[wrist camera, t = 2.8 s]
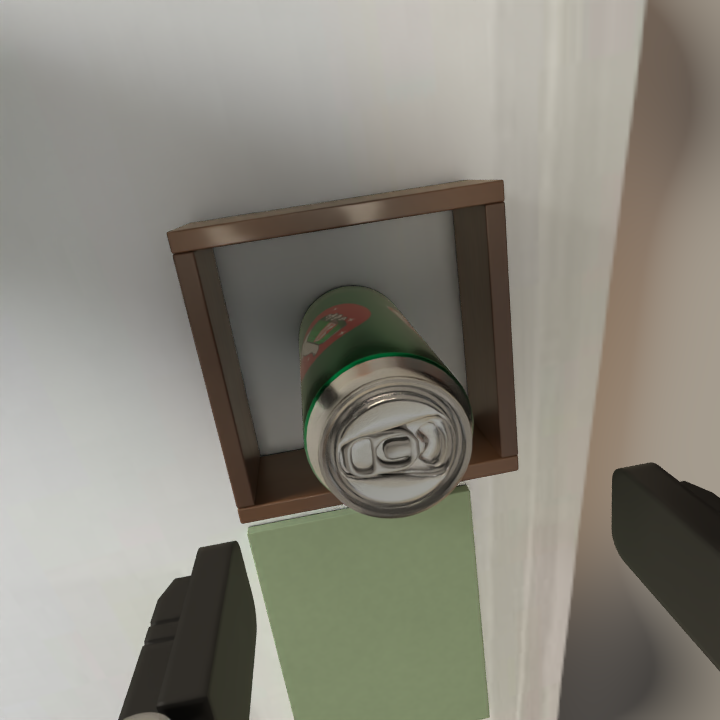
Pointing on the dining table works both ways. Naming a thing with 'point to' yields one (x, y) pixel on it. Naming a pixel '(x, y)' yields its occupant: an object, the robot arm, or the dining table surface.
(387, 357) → the soda can
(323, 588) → the mat
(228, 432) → the crate
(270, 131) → the dining table surface
